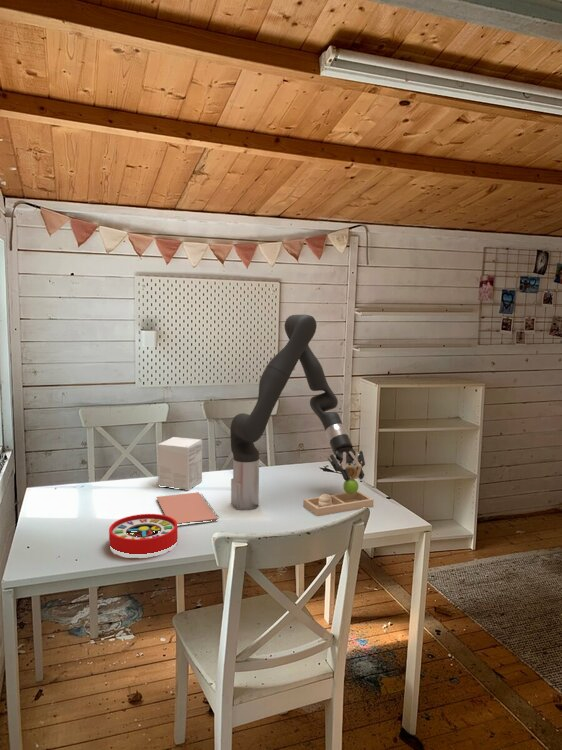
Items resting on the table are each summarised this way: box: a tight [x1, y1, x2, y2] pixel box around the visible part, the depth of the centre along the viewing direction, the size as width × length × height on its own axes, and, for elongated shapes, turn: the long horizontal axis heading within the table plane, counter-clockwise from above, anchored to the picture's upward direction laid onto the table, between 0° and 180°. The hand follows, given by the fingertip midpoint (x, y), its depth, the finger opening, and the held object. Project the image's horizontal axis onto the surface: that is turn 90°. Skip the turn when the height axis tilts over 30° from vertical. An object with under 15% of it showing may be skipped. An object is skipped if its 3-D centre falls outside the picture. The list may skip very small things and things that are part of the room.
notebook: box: [156, 491, 220, 524], centre depth 199 cm, size 27×17×2 cm, turn 21°
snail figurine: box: [342, 461, 363, 494], centre depth 204 cm, size 5×6×12 cm
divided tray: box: [302, 490, 374, 517], centre depth 203 cm, size 23×10×4 cm, turn 116°
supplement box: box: [157, 436, 203, 491], centre depth 226 cm, size 13×13×18 cm
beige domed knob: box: [318, 493, 332, 507], centre depth 200 cm, size 5×5×5 cm
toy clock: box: [108, 513, 179, 554], centre depth 171 cm, size 20×6×20 cm
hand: (355, 479), depth 202 cm, fingers closed on snail figurine, 5 cm apart
